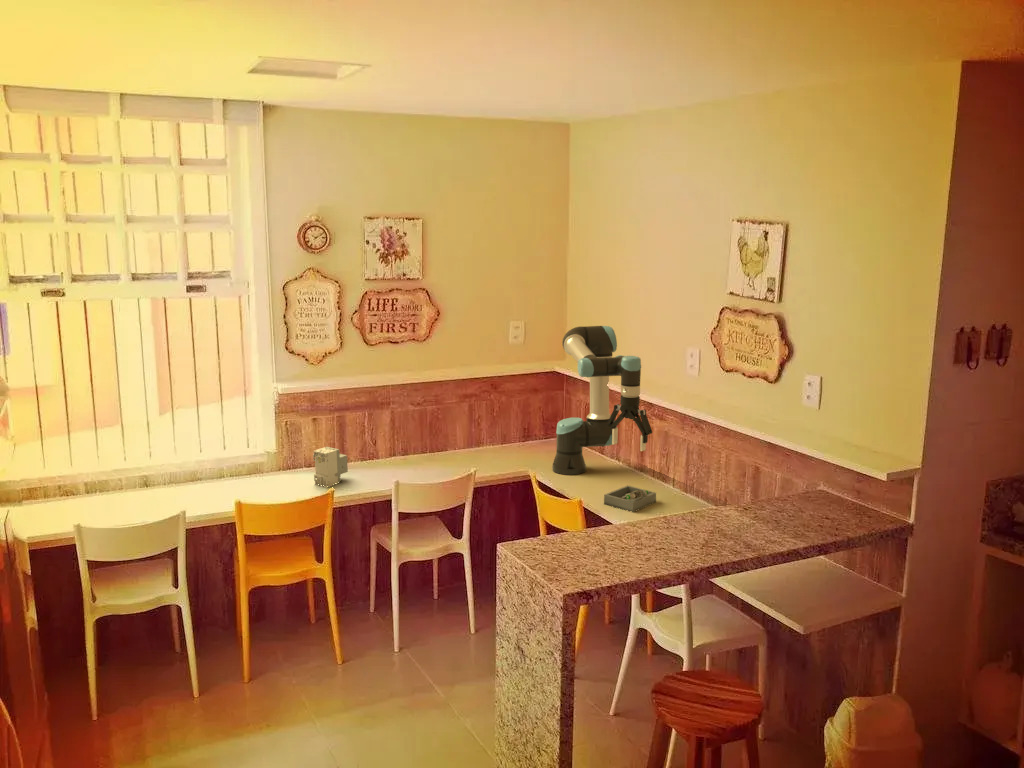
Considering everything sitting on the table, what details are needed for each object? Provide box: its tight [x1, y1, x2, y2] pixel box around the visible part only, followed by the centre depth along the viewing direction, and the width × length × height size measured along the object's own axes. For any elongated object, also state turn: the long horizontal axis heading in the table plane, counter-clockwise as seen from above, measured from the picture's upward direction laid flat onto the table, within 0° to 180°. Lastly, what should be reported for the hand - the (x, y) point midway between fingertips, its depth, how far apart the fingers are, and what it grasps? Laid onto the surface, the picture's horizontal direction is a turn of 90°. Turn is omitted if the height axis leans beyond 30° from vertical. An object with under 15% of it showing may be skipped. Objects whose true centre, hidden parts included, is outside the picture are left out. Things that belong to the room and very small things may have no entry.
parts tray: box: [603, 484, 657, 513], centre depth 357 cm, size 16×14×4 cm
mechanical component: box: [622, 488, 649, 500], centre depth 354 cm, size 3×10×10 cm
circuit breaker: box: [312, 446, 349, 488], centre depth 383 cm, size 8×14×15 cm, turn 146°
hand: (628, 447), depth 355 cm, fingers open, 13 cm apart
